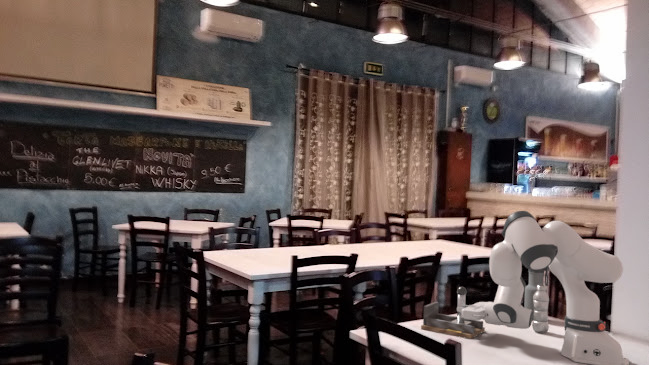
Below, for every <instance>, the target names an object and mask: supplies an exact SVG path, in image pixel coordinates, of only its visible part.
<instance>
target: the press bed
mask: <svg viewBox="0 0 649 365" xmlns="http://www.w3.org/2000/svg"><path fill="white" fill-rule="evenodd" d="M439 306H440V305H439V301H434V302H431V303H429V304H426V305H424V306H423V319H422V320H423V321H422V322H423V323H422V325H421V326H420V329H421V330H425V331H429V332H433V333H434V332H435V333H437V334H438V333H439V334H444V335H449V336H454V337H459V336H460V337H459V338H464V337H465V339H469V338H470V339H469V340H472V339H473V338H475V337H477V336H479V335H480V334H482V333H483V331H484V332H485V331H486V330H485V328H486V327H484V320H471V319H465V321H470V322H472V326H471V325H466V324H460V323H455V322H451V321H453V320H456V319H457V316H456V315H449V314H443V313H439ZM481 332H482V333H481ZM478 334H479V335H478ZM476 335H477V336H476ZM474 336H475V337H474ZM471 338H472V339H471Z"/></svg>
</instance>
